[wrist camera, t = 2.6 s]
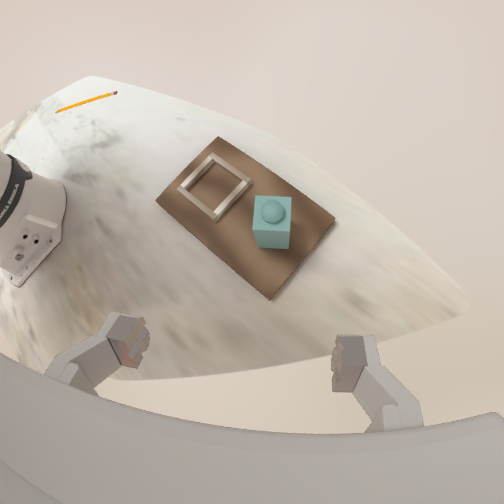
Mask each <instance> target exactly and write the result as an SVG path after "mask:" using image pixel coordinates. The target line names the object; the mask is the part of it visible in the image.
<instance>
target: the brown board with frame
mask: <svg viewBox="0 0 504 504" xmlns="http://www.w3.org/2000/svg"><path fill="white" fill-rule="evenodd" d="M255 195H256V196H279V197H292V198H291V220H290V238H289V249H275V248H258V246H257V243H256V240H255V237H254V234H253V230H252V227H253V216H254V204H255ZM155 201H156V202H157V203H158V204H159V205H160V206H161V207H162V208H164V209H165V210H166V211H167V212H168V213H169V214H170V215H171V216H173V217H174V218H175V219H176V220H177V221H178V222H179V223H180V224H182V225H183V226H184V227H185V228H186V229H187V230H188V231H190V232H191V233H192V234H193V235H194V236H195V237H196V238H198V239H199V240H200V241H201V242H202V243H203V244H204V245H206V246H207V247H208V248H209V249H210V250H211V251H212V252H214V253H215V254H216V255H217V256H218V257H219V258H221V259H222V260H223V261H224V262H225V263H226V264H228V265H229V266H230V267H231V268H232V269H233V270H235V271H236V272H237V273H238V274H239V275H240V276H242V277H243V278H244V279H245V280H246V281H247V282H249V283H250V284H251V285H252V286H253V287H255V288H256V289H257V290H258V291H259V292H260V293H262V294H263V295H264V296H265V297H266V298H268V299H269V300H270V299H271V298H272V297H273V295H274V294H275V293H276V292H277V291H278V289H279V288H280V287H281V286H282V285H283V284H284V282H285V281H286V280H287V279H288V278H289V276H290V275H291V274H292V273H293V272H294V270H295V269H296V268H297V267H298V266H299V264H300V263H301V262H302V261H303V259H304V258H305V257H306V256H307V255H308V253H309V252H310V251H311V250H312V248H313V247H314V246H315V245H316V243H317V242H318V241H319V240H320V239H321V237H322V236H323V235H324V234H325V232H326V231H327V230H328V229H329V227H330V226H331V225H332V223H333V222H334V220H335V217H334V216H332V215H331V214H330V213H328V212H327V211H326V210H324V209H323V208H322V207H320V206H319V205H318V204H316V203H315V202H314V201H312V200H311V199H310V198H308V197H307V196H306V195H304V194H303V193H301V192H300V191H299V190H297V189H296V188H294V187H293V186H292V185H290V184H289V183H287V182H286V181H285V180H283V179H282V178H280V177H279V176H278V175H276V174H275V173H273V172H272V171H270V170H269V169H267V168H266V167H264V166H263V165H262V164H260V163H259V162H257V161H256V160H254V159H253V158H251V157H250V156H248V155H247V154H245V153H244V152H242V151H241V150H239V149H237V148H236V147H234V146H233V145H231V144H230V143H228V142H227V141H225V140H223V139H222V138H220V137H219V136H218V137H217V138H216V139H215V140H214V141H213V142H211V143H210V144H209V145H208V146H207V147H206V148H205V149H204V150H203V151H202V152H201V153H200V154H199V155H198V156H197V157H196V158H195V159H194V160H193V161H192V162H191V163H190V164H189V165H188V166H187V167H186V168H185V169H184V170H183V171H182V172H181V173H180V175H179V176H178V177H177V178H176V179H175V180H174V181H173V182H172V183H171V184H170V185H169V186H168V187H167V188H166V189H165V190H164V192H163V193H162V194H161V195H160V196H159V197H158V198H157V199H156V200H155Z"/></svg>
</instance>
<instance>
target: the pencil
mask: <svg viewBox="0 0 504 504" xmlns="http://www.w3.org/2000/svg"><path fill="white" fill-rule="evenodd" d="M115 94H117V91H115V92H111V93H108V94H104V95H101V96H98V97H94V98H91V99H88V100H85V101H82V102H79V103H76V104H73V105H70V106H67V107H65V108H62V109H59V110H58V111H56V112H55V113H57V112H61V111H64V110H67V109H69V108H72V107H75V106H78V105H81V104H84V103H87V102H91V101H94V100H97V99H100V98H104V97H107V96H111V95H115Z"/></svg>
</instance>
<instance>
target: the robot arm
mask: <svg viewBox="0 0 504 504" xmlns="http://www.w3.org/2000/svg"><path fill="white" fill-rule="evenodd" d="M65 206H66V194H65V190H64V187H63V185H62V184H61V183H60V182H59V181H57V180H52V179H48V178H45V177H43V176H40V175H38V174H36V173H34V172H32V171H31V170H30V169H29V167H28V166H26V165H25V164H24V163H22V162H21V161H20V160H18V159H17V158H14V157H13V156H11V155H9V154H4V153H3V152H2V151H0V267H1V268H2V271H3V273H4V275H5V277H6V278H7V279H8V281H9V282H10V283H11V284H13V285H15V286H18V287H20V286H21V285H22V284H23V282H24V281H25V280H26V279H27V278H28V276H29V275H30V274H31V273H32V272H33V271H34V270H35V268H36V267H37V266H38V265H39V264H40V263H41V262H42V261H43V259H44V258H45V257H46V256H47V255H48V254H49V253H50V252H51V251H52V250H53V249H54V248H55V247H56V246H57V244H58V243H59V242H60V240H61V236H62V227H61V224H62V219H63V216H64V212H65ZM144 325H145V320H144V318H143V317H140V316H135V315H130V314H125V313H119V312H114V311H113V312H112V313H110V315H109V316H108V318H107V319H106V321H105V322H104V324H103V325H102V327H101V328H100V330H99V331H98V333H97V334H96V335H92V336H90V337H89V338H87V339H85V340H83V341H81V342H80V343H78V344H76V345H74V346H73V347H71V348H69V349H67V350H66V351H64V352H62V353H60V354H58V355H57V356H55V358H54V359H53V361H52V362H51V364H50V365H49V367H48V369H47V370H46V372H45V373H44V375H43V374H41V373H39V372H37V371H35V370H33V369H31V368H29V367H26V366H24V365H22V364H20V363H19V362H17V361H15V360H13V359H11V358H9V357H7V356H5V355H4V354H2V353H0V504H504V418H503V417H502V416H501V415H499V414H498V413H496V412H490V413H486V414H482V415H478V416H474V417H470V418H466V419H462V420H457V421H452V422H448V423H442V424H437V425H431V426H425V427H424V423H423V418H422V413H421V408H420V404H419V401H418V400H417V399H416V398H415V397H414V396H413V395H412V394H411V392H409V391H408V390H407V388H405V387H404V385H403V384H402V383H401V382H400V381H399V380H398V379H396V377H395V376H394V375H393V374H392V373H391V372H390V371H389V370H388V369H387V368H385V366H381V364H380V359H379V354H378V349H377V345H376V340H375V337H374V335H337V337H336V341H335V342H336V347H335V348H333V352H332V359H331V370H332V371H333V372H334V374H333V377H332V390H333V392H353V393H352V394H353V395H354V396H355V398H356V399H357V401H358V402H359V403H360V405H361V406H362V407H363V409H364V410H365V412H366V413H367V415H368V416H369V417H370V419H371V420H372V423H371V424H370V426H369V427H368V428H367V430H366V431H365V433H352V434H297V433H279V432H265V431H255V430H246V429H238V428H230V427H223V426H217V425H210V424H204V423H199V422H194V421H188V420H183V419H179V418H174V417H169V416H165V415H161V414H157V413H153V412H149V411H145V410H141V409H138V408H134V407H130V406H127V405H124V404H120V403H117V402H114V401H111V400H108V399H105V398H102V397H99V395H98V394H97V392H96V391H95V390H94V387H96V386H97V385H98V384H99V383H101V382H102V381H103V380H104V379H106V378H107V377H108V376H110V375H111V374H112V373H113V372H115V371H116V370H117V369H118V368H120V367H121V365H122V366H127V367H132V368H136V369H137V368H138V366H139V364H140V362H141V360H142V358H143V357H142V353H143V352H144V351H146V350H147V348H148V345H149V340H150V337H149V332H148V330H147V329H146V328H145V327H144Z"/></svg>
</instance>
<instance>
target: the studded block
mask: <svg viewBox="0 0 504 504" xmlns="http://www.w3.org/2000/svg"><path fill="white" fill-rule="evenodd" d="M291 198H292V197H279V196H256V195H255V204H254V216H253V227H252V230H253V234H254V237H255V240H256V243H257V246H258V248H275V249H289V238H290V220H291Z"/></svg>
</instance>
